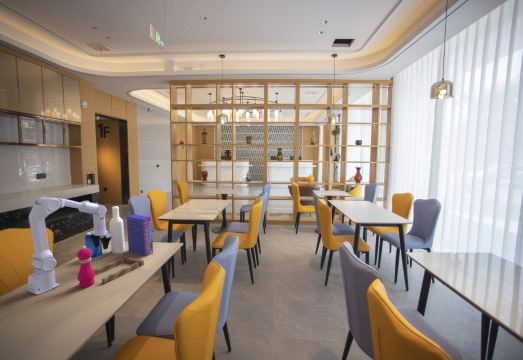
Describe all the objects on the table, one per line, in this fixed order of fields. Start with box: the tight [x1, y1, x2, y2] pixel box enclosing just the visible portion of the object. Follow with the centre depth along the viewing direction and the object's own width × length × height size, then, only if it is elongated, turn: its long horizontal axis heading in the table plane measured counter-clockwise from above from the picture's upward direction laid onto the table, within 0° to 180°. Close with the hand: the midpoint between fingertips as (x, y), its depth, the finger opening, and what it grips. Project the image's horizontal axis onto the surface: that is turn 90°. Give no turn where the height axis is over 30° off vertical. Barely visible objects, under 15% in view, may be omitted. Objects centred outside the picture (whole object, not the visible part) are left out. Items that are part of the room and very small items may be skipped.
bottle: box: [109, 205, 126, 254], centre depth 166 cm, size 8×8×30 cm
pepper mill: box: [76, 245, 96, 288], centre depth 125 cm, size 7×7×20 cm
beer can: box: [84, 231, 103, 261], centre depth 157 cm, size 8×8×16 cm
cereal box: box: [126, 214, 154, 257], centre depth 165 cm, size 17×5×24 cm, turn 64°
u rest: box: [93, 255, 145, 285], centre depth 140 cm, size 24×15×2 cm, turn 155°
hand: (101, 247), depth 147 cm, fingers open, 7 cm apart
